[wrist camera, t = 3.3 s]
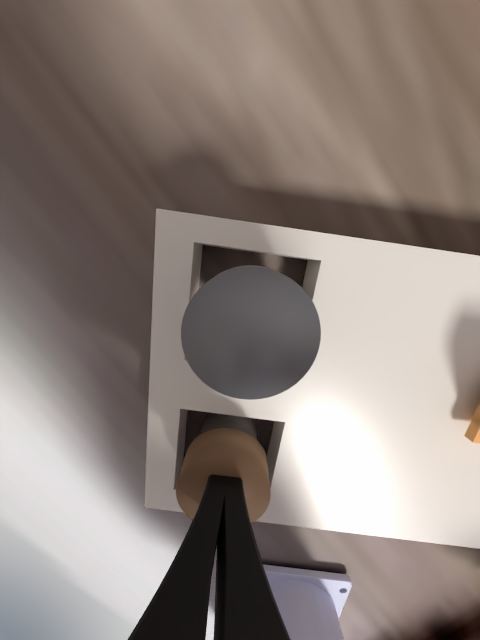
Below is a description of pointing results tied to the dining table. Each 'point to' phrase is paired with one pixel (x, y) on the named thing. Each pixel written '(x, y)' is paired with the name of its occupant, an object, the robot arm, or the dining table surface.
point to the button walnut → (225, 463)
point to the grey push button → (250, 332)
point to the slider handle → (474, 427)
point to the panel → (339, 383)
